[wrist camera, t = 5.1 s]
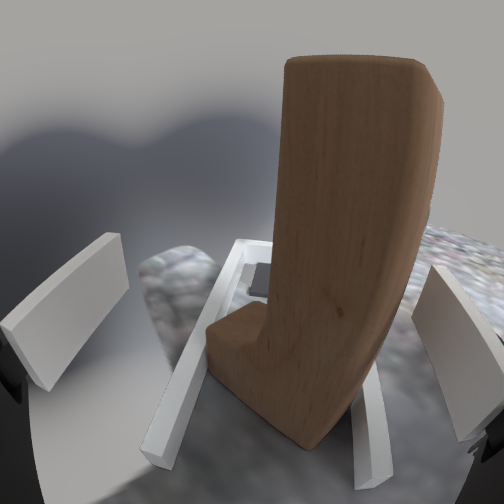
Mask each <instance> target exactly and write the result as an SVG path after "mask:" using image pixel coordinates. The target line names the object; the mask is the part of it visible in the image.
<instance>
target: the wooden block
mask: <svg viewBox="0 0 504 504" xmlns="http://www.w3.org/2000/svg"><path fill="white" fill-rule="evenodd" d="M443 113H444V101H443V98H442V95H441V93H440V91H439V90H438V88H437V86H436V84H435V83H434V80H433V79H432V77H431V75H430V73H429V72H428V70H427V68H426V67H425V65H424V64H422V63H420V62H418V61H416V60H414V59H408V58H399V57H388V56H374V55H312V56H299V57H293V58H290V59H288V60H287V62H286V64H285V67H284V86H283V104H282V121H281V137H280V138H281V139H280V154H279V167H278V182H277V195H276V208H275V222H274V233H273V245H272V256H271V268H270V279H269V289H268V300H267V304H265V303H262V302H260V301H253V302H251V303H249V304H247V305H245V306H244V307H242V308H240V309H238V310H236V311H235V312H233V313H231V314H229V315H227V316H225V317H223V318H222V319H220V320H218V321H216V322H214V323H212V324H210V325H209V326H208V327H207V328H206V330H205V334H206V345H207V355H208V365H209V371H210V373H211V374H212V375H213V376H214V377H215V378H217V379H218V380H219V381H220V382H221V383H222V384H223V385H224V386H225V387H227V388H228V389H229V390H230V391H231V392H232V393H233V394H235V395H236V396H237V397H238V398H239V399H240V400H242V401H243V402H244V403H245V404H246V405H248V406H249V407H250V408H251V409H252V410H254V411H255V412H256V413H257V414H259V415H260V416H261V417H262V418H264V419H265V420H266V421H267V422H269V423H270V424H271V425H273V426H274V427H275V428H276V429H278V430H279V431H280V432H282V433H283V434H284V435H286V436H287V437H288V438H290V439H291V440H293V441H294V442H295V443H297V444H298V445H300V446H301V447H303V448H304V449H306V450H311V449H313V448H315V447H316V446H317V445H318V444H319V443H320V442H321V440H322V439H323V438H324V437H325V436H326V435H327V434H328V433H329V432H330V430H331V429H332V428H333V427H334V426H335V425H336V423H337V422H338V421H339V420H340V419H341V417H342V416H343V415H344V414H345V413H346V411H347V410H348V409H349V407H350V406H351V404H352V402H353V400H354V399H355V397H356V395H357V393H358V392H359V390H360V388H361V386H362V384H363V383H364V381H365V379H366V377H367V375H368V373H369V371H370V369H371V367H372V365H373V363H374V361H375V359H376V357H377V355H378V353H379V351H380V349H381V347H382V345H383V343H384V340H385V338H386V336H387V334H388V331H389V329H390V327H391V325H392V322H393V320H394V317H395V315H396V312H397V310H398V308H399V305H400V302H401V300H402V297H403V294H404V292H405V289H406V286H407V283H408V281H409V278H410V275H411V272H412V269H413V266H414V263H415V259H416V256H417V253H418V250H419V246H420V243H421V239H422V236H423V232H424V228H425V224H426V220H427V216H428V212H429V208H430V203H431V198H432V194H433V189H434V183H435V178H436V171H437V166H438V159H439V152H440V144H441V136H442V125H443Z"/></svg>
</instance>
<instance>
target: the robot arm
mask: <svg viewBox="0 0 504 504" xmlns="http://www.w3.org/2000/svg"><path fill="white" fill-rule="evenodd" d="M129 288H130V286H129V281H128V276H127V271H126V265H125V260H124V255H123V249H122V243H121V237H120V233H109V232H106V233H105V234H103V235H102V236H101V237H99V238H98V239H97V240H95V241H94V242H93V243H91V244H90V245H89V246H88V247H86V248H85V249H83V250H82V251H81V252H80V253H78V254H77V255H76V256H75V257H73V258H72V259H71V260H69V261H68V262H67V263H66V264H64V265H63V266H62V267H61V268H60V269H58V270H57V271H56V272H55V273H54V274H52V275H51V276H50V277H49V278H48V279H46V280H45V281H44V282H43V283H42V284H41V285H39V286H38V287H37V288H36V289H34V290H33V291H32V292H31V293H30V294H29V295H28V296H27V297H26V298H24V299H23V300H22V302H20V304H18V305H17V306H16V307H15V308H14V309H13V310H12V311H11V312H10V313H9V314H8V315H7V316H6V317H5V318H4V319H3V320H2V321H1V322H0V504H45V503H44V500H43V496H42V492H41V488H40V484H39V480H38V475H37V470H36V466H35V460H34V454H33V447H32V439H31V431H30V419H29V402H28V383H27V380H26V379H25V376H26V375H27V374H29V375H30V377H31V378H32V379H33V381H34V382H35V384H36V385H38V386H40V387H41V388H43V389H45V390H46V391H48V392H50V391H51V389H52V388H53V386H54V384H55V383H56V382H57V381H58V379H59V377H60V376H61V375H62V373H63V372H64V371H65V369H66V368H67V366H68V365H69V363H70V362H71V361H72V360H73V358H74V357H75V356H76V354H77V353H78V352H79V350H80V349H81V348H82V346H83V345H84V344H85V342H86V341H87V340H88V338H89V337H90V336H91V335H92V333H93V332H94V331H95V329H96V328H97V327H98V326H99V324H100V323H101V322H102V321H103V319H104V318H105V317H106V316H107V314H108V313H109V312H110V311H111V309H112V308H113V307H114V306H115V305H116V303H117V302H118V301H119V300H120V299H121V297H122V296H123V295H124V294H125V293H126V291H127V290H128V289H129ZM411 318H412V320H413V322H414V324H415V326H416V329H417V331H418V333H419V335H420V337H421V340H422V342H423V344H424V347H425V349H426V351H427V354H428V356H429V359H430V361H431V364H432V366H433V369H434V371H435V374H436V376H437V379H438V382H439V384H440V387H441V390H442V393H443V396H444V398H445V401H446V404H447V407H448V411H449V414H450V417H451V420H452V423H453V427H454V430H455V434H456V437H457V441H458V443H460V442H464V441H467V440H470V439H473V438H475V437H476V436H477V435H478V434H479V433H480V432H481V431H482V430H483V429H485V430H486V433H487V434H486V435H485V436H484V437H483V438H481V439H480V440H479V441H478V442H477V443H476V444H474V445H473V446H472V447H471V448H470V449H469V451H468V452H467V453H469V454H470V453H471V452H472V451H473V450H475V449H476V448H477V447H479V448H478V450H477V451H476V452H475V453H474V454H473V456H475V459H474V462H473V464H472V467H471V469H470V472H469V474H468V476H467V479H466V481H465V483H464V485H463V488H462V490H461V492H460V494H459V496H458V498H457V500H456V502H455V504H504V342H503V340H502V339H501V338H500V337H499V336H498V335H497V334H496V333H495V331H494V330H493V328H492V327H491V325H490V324H489V322H488V321H487V320H486V318H485V317H484V315H483V314H482V312H481V311H480V310H479V308H478V307H477V305H476V304H475V303H474V301H473V300H472V299H471V297H470V296H469V295H468V293H467V292H466V291H465V290H464V288H463V287H462V286H461V284H460V283H459V282H458V281H457V279H456V278H455V277H454V276H453V275H452V273H451V272H450V271H449V270H448V268H447V267H446V266H441V265H431V268H430V271H429V274H428V277H427V280H426V282H425V285H424V288H423V290H422V293H421V295H420V298H419V300H418V303H417V305H416V308H415V310H414V312H413V315H412V317H411Z"/></svg>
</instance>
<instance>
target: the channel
mask: <svg viewBox="0 0 504 504" xmlns="http://www.w3.org/2000/svg"><path fill="white" fill-rule="evenodd" d="M272 245H273V242H266V241H256V240H246V239H236V241H235V244H234V246H233V248H232V250H231V252H230V254H229V256H228V258H227V260H226V262H225V264H224V266H223V268H222V270H221V272H220V274H219V276H218V278H217V280H216V283H215V285H214V287H213V289H212V291H211V293H210V295H209V297H208V299H207V301H206V303H205V306H204V308H203V310H202V312H201V314H200V316H199V318H198V320H197V323H196V325H195V327H194V329H193V331H192V333H191V335H190V337H189V340H188V342H187V344H186V346H185V348H184V350H183V353H182V355H181V357H180V359H179V361H178V363H177V366H176V368H175V370H174V372H173V374H172V377H171V379H170V381H169V383H168V386H167V388H166V390H165V392H164V394H163V396H162V399H161V401H160V403H159V405H158V408H157V410H156V412H155V414H154V417H153V419H152V421H151V424H150V426H149V428H148V430H147V433H146V435H145V437H144V440H143V442H142V444H141V446H140V450H141V452H142V453H143V454H144V455H145V457H146V458H147V459H148V460H149V462H150V463H151V464H152V465H155V466H158V467H161V468H164V469H168V470H171V471H172V469H173V466H174V463H175V460H176V457H177V454H178V451H179V448H180V446H181V443H182V440H183V437H184V434H185V431H186V428H187V426H188V423H189V420H190V417H191V414H192V411H193V408H194V406H195V403H196V400H197V397H198V394H199V391H200V389H201V386H202V383H203V380H204V377H205V374H206V372H207V369H208V366H209V365H208V355H207V345H206V334H205V330H206V328H207V327H208V326H209V325H210V324H212V323H214V322H216V321H218V320H220V319H222V318H223V317H225V316H226V315H227V312H228V309H229V306H230V304H231V301H232V298H233V295H234V292H235V290H236V287H237V284H238V281H239V278H240V275H241V273H242V270H243V267H244V264H252V265H257V267H256V271H255V274H254V278H253V282H252V286H251V289H250V295H251V296H259V297H267V298H268V289H269V279H270V268H271V256H272ZM350 407H351V419H352V434H353V452H354V490H361V489H370V488H375V487H377V486H378V485H380V484H381V483H383V482H384V481H386V480H387V479H389V478H390V477H392V476H393V475H394V473H393V463H392V454H391V446H390V439H389V432H388V425H387V419H386V413H385V407H384V401H383V396H382V391H381V386H380V381H379V376H378V371H377V367H376V362H375V361H374V363H373V365H372V367H371V369H370V371H369V373H368V375H367V377H366V379H365V381H364V383H363V384H362V386H361V388H360V390H359V392H358V393H357V395H356V397H355V399H354V400H353V402H352V404H351V406H350Z"/></svg>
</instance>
